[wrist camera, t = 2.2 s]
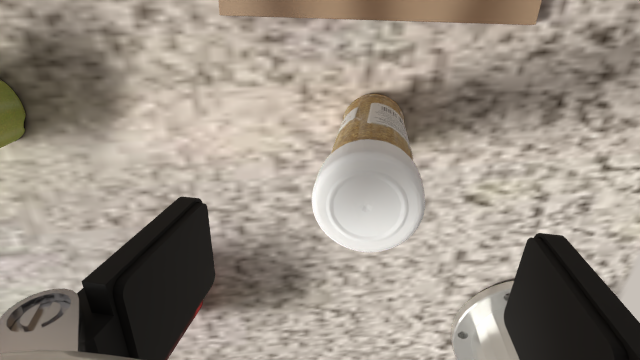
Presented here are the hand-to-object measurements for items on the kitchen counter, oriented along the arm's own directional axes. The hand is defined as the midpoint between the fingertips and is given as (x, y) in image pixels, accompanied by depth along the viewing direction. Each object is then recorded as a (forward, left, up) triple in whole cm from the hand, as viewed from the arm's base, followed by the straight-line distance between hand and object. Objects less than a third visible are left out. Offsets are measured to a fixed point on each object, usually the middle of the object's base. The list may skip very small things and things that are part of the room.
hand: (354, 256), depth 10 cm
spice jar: (0, 0, -17) cm, 17 cm away
